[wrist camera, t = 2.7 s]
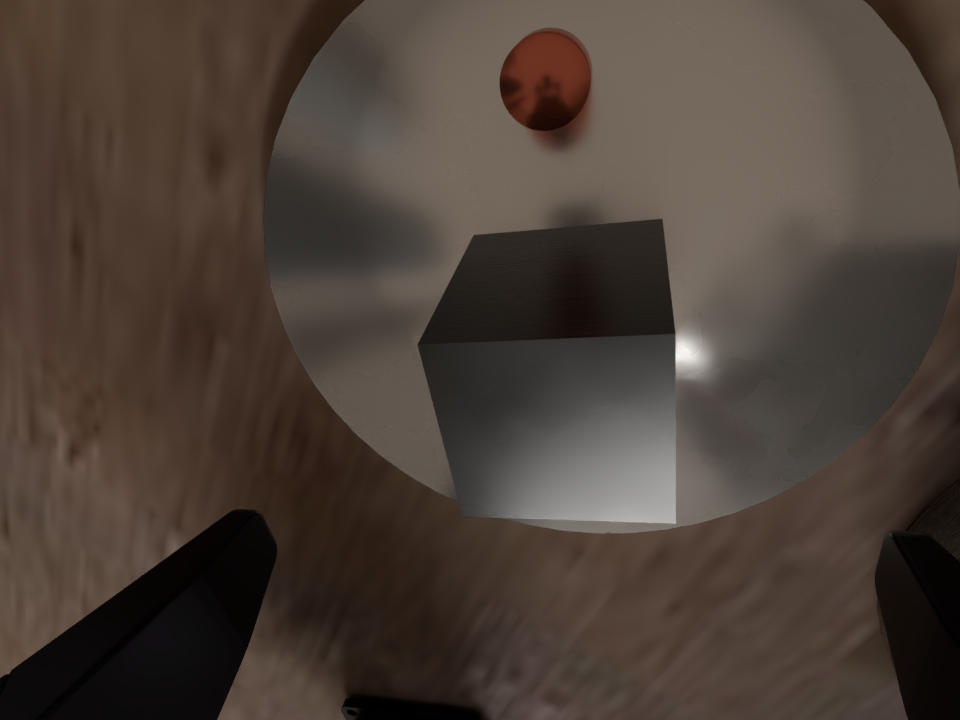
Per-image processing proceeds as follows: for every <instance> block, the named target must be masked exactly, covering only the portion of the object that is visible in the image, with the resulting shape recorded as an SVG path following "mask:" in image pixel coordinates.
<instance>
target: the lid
mask: <svg viewBox="0 0 960 720" xmlns="http://www.w3.org/2000/svg"><path fill="white" fill-rule="evenodd" d="M263 224H264V242H265V257H266V262H267V268H268V273H269V278H270V284H271V289H272V293H273V296H274V299H275V302H276V305H277V309H278V312H279V315H280V318H281V321H282V324H283V327H284V329H285V331H286V333H287V335H288V337H289V340H290V342H291V344H292V346H293V348H294V351H295V353H296V355H297V357H298V359H299V360H300V362H301V363H302V365H303V367H304V368H305V370H306V372H307V373H308V375H309V377H310V378H311V380H312V382H313V383H314V385H315V386H316V388H317V389H318V390H319V392H320V393H321V394H322V395H323V397H324V398H325V399H326V401H327V402H328V403H329V405H330V406H331V407H332V409H333V410H334V411H335V412H336V413H337V414H338V415H339V417H340V418H341V419H342V420H343V421H344V422H345V423H346V424H347V425H348V426H349V427H350V428H351V429H352V430H353V431H354V432H355V433H356V434H357V436H359V437H360V438H361V439H362V440H363V441H364V442H366V443H367V444H368V445H369V446H370V447H371V448H372V449H374V450H375V451H376V452H377V453H378V454H379V455H381V456H382V457H383V458H384V459H386V460H387V461H389V462H390V463H392V464H393V465H394V466H396V467H397V468H399V469H400V470H401V471H403V472H404V473H406V474H407V475H408V476H410V477H412V478H414V479H415V480H417V481H419V482H420V483H422V484H424V485H426V486H427V487H429V488H431V489H433V490H434V491H436V492H438V493H440V494H442V495H445V496H447V497H449V498H451V499H453V500H455V501H458V502H459V505H460V509H461V513H462V517H487V518H505V519H508V520H512V521H516V522H520V523H524V524H528V525H533V526H539V527H544V528H550V529H556V530H562V531H575V532H587V533H635V532H645V531H655V530H665V529H670V528H676V527H681V526H686V525H692V524H697V523H701V522H705V521H708V520H712V519H715V518H718V517H722V516H725V515H729V514H732V513H735V512H738V511H740V510H743V509H745V508H748V507H750V506H753V505H755V504H758V503H760V502H763V501H766V500H768V499H770V498H772V497H774V496H776V495H778V494H780V493H782V492H784V491H785V490H787V489H789V488H791V487H793V486H795V485H797V484H799V483H801V482H803V481H804V480H806V479H807V478H809V477H810V476H812V475H813V474H815V473H816V472H818V471H819V470H821V469H822V468H824V467H825V466H827V465H828V464H830V463H831V462H833V461H834V460H835V459H837V458H838V457H839V456H840V455H841V454H842V453H844V452H845V451H846V450H847V449H848V448H850V447H851V446H852V445H853V444H854V443H856V442H857V441H858V440H859V439H860V438H861V437H863V436H864V435H865V434H866V433H867V432H868V431H869V430H870V429H871V427H872V426H873V425H874V424H875V423H876V422H877V421H878V420H879V419H880V418H881V417H882V416H883V415H884V413H885V412H886V411H887V410H888V409H889V408H890V407H891V406H892V405H893V404H894V402H895V401H896V399H897V398H898V397H899V395H900V394H901V392H902V391H903V390H904V388H905V387H906V385H907V384H908V383H909V381H910V380H911V378H912V377H913V376H914V374H915V373H916V371H917V370H918V368H919V366H920V364H921V362H922V360H923V358H924V356H925V354H926V353H927V351H928V349H929V347H930V345H931V343H932V341H933V339H934V337H935V335H936V333H937V331H938V328H939V325H940V323H941V320H942V317H943V314H944V311H945V308H946V305H947V302H948V299H949V297H950V294H951V291H952V286H953V281H954V275H955V269H956V264H957V258H958V253H959V247H960V190H959V184H958V178H957V172H956V166H955V159H954V153H953V147H952V144H951V141H950V139H949V136H948V133H947V130H946V127H945V124H944V122H943V119H942V116H941V113H940V110H939V107H938V105H937V102H936V99H935V97H934V95H933V93H932V92H931V90H930V88H929V86H928V85H927V83H926V81H925V79H924V78H923V76H922V74H921V72H920V71H919V69H918V67H917V65H916V64H915V62H914V60H913V58H912V57H911V55H910V53H909V51H908V50H907V49H906V48H905V46H904V45H903V44H902V43H901V42H900V40H899V39H898V38H897V37H896V36H895V35H894V33H893V32H892V31H891V30H890V29H889V27H888V26H887V25H886V24H885V23H884V21H883V20H882V19H881V18H880V17H879V16H878V14H877V13H876V12H875V11H874V10H873V8H872V7H871V6H869V5H868V4H867V3H866V2H865V1H863V0H364V1H363V2H362V3H361V4H360V5H359V6H358V7H357V8H356V9H355V10H354V11H353V12H352V13H351V14H349V15H348V16H347V17H346V18H345V19H344V20H343V21H342V23H341V24H340V25H339V26H338V28H337V29H336V30H335V31H334V33H333V34H332V35H331V37H330V38H329V39H328V40H327V42H326V43H325V44H324V46H323V47H322V48H321V49H320V51H319V52H318V53H317V54H316V56H315V57H314V58H313V60H312V62H311V64H310V65H309V67H308V69H307V71H306V72H305V74H304V76H303V78H302V79H301V81H300V83H299V85H298V86H297V88H296V90H295V92H294V94H293V95H292V97H291V99H290V102H289V104H288V107H287V110H286V112H285V115H284V117H283V120H282V123H281V125H280V128H279V130H278V133H277V136H276V138H275V142H274V147H273V151H272V156H271V160H270V165H269V169H268V173H267V178H266V189H265V201H264V214H263Z"/></svg>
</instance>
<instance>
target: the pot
mask: <svg viewBox="0 0 960 720" xmlns="http://www.w3.org/2000/svg"><path fill="white" fill-rule="evenodd" d="M908 531H917V532H923V533H926V534H928V535H929V536H931V537H932V538H933V539H935V540H936V541H937V542H938V543H939V544H940V545H942V546H943V547H944V548H945V549H946V550H947V551H948V552H950V553H951V554H952V555H953V556H954V557H955V558H957V559H958V560H959V561H960V480H959V481H958V482H956V483H955V484H954V485H952V486H951V487H950V488H948V489H947V490H946V491H945V492H944V493H943V494H942V495H941V496H940V497H939V498H937V499H936V500H935V501H934V502H933V503H932V504H931V505H930V506H929V507H928V508H927V509H926V510H925V511H924V512H923V513H922V514H921V515H920V516H919V517H918V518H917V520H916V521H915V522H914V523H913V525H912V526H911V527H910V528H909V530H908ZM877 612H878V619H879V625H880V631H881V634H882V637H883V639H884V642H885V645H886V648H887V651H888V653H889V656H890V659H891V662H892V665H893V667H894V663H893V659H892V655H891V651H890V646H889V642H888V638H887V634H886V630H885V626H884V621H883V617H882V613H881V609H880V605H879V601H878V606H877ZM894 670H895V667H894ZM895 673H896V671H895Z"/></svg>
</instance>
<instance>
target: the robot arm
mask: <svg viewBox="0 0 960 720" xmlns="http://www.w3.org/2000/svg"><path fill="white" fill-rule="evenodd" d="M276 557H277V545H276V542H275V539H274V537H273V535H272V533H271V531H270V529H269V527H268V525H267V523H266V521H265V519H264V517H263V516H262V514H261V513H260V512H259V511H257V510H245V509H237V510H233V511H231V512H229V513H228V514H227V515H225V516H224V517H222V518H221V519H220V520H218V521H217V522H216V523H214V524H213V525H211V526H210V527H209V528H207V529H206V530H204V531H203V532H202V533H200V534H199V535H198V536H196V537H195V538H193V539H192V540H191V541H189V542H188V543H187V544H185V545H184V546H182V547H181V548H180V549H178V550H177V551H175V552H174V553H173V554H171V555H170V556H169V557H167V558H166V559H164V560H163V561H162V562H160V563H159V564H158V565H156V566H155V567H153V568H152V569H151V570H149V571H148V572H147V573H145V574H144V575H142V576H141V577H140V578H138V579H137V580H135V581H134V582H133V583H131V584H130V585H129V586H127V587H126V588H124V589H123V590H122V591H120V592H119V593H118V594H116V595H115V596H113V597H112V598H111V599H109V600H108V601H106V602H105V603H104V604H102V605H101V606H100V607H98V608H97V609H95V610H94V611H93V612H91V613H90V614H88V615H87V616H86V617H84V618H83V619H82V620H80V621H79V622H77V623H76V624H75V625H73V626H72V627H71V628H69V629H68V630H66V631H65V632H64V633H62V634H61V635H59V636H58V637H57V638H55V639H54V640H53V641H51V642H50V643H48V644H47V645H46V646H44V647H43V648H42V649H40V650H39V651H37V652H36V653H35V654H33V655H32V656H30V657H29V658H28V659H26V660H25V661H24V662H22V663H21V664H19V665H18V666H17V667H15V668H14V669H13V670H11V672H10V674H6V675H4V676H3V677H1V678H0V720H217V719H218V716H219V714H220V712H221V709H222V707H223V705H224V702H225V700H226V698H227V695H228V693H229V691H230V688H231V686H232V684H233V681H234V679H235V677H236V674H237V672H238V670H239V667H240V665H241V662H242V660H243V657H244V655H245V652H246V650H247V647H248V644H249V642H250V639H251V636H252V633H253V630H254V627H255V624H256V621H257V617H258V614H259V611H260V608H261V605H262V602H263V599H264V596H265V592H266V589H267V586H268V583H269V580H270V577H271V574H272V570H273V567H274V564H275V561H276ZM875 586H876V592H877V596H878V601H879V605H880V609H881V613H882V617H883V621H884V626H885V630H886V634H887V638H888V642H889V646H890V651H891V655H892V659H893V663H894V667H895V671H896V676H897V680H898V684H899V688H900V692H901V696H902V700H903V704H904V707H905V711H906V714H907V717H908V720H960V561H959V560H958V559H957V558H955V557H954V556H953V555H952V554H951V553H950V552H948V551H947V550H946V549H945V548H944V547H943V546H942V545H940V544H939V543H938V542H937V541H936V540H935V539H933V538H932V537H931V536H929V535H928V534H926V533H923V532H917V531H890V532H888V533H887V534H886V535H885V538H884V541H883V544H882V548H881V552H880V556H879V560H878V564H877V568H876V572H875ZM341 711H342V713H343V715H344V717H345V719H346V720H482V718H481V717H480V716H479V715H478V714H475V713H473V712H468V711H460V710H451V709H442V708H434V707H425V706H416V705H408V704H399V703H390V702H382V701H373V700H364V699H356V698H347V699H345V701H344V703H343V706H342V709H341Z"/></svg>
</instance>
